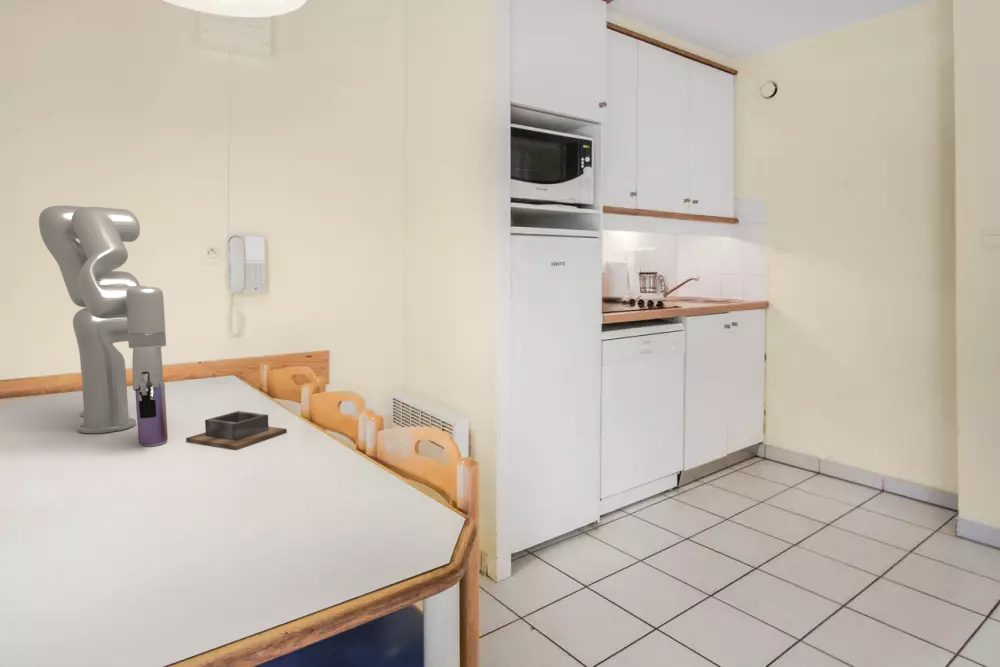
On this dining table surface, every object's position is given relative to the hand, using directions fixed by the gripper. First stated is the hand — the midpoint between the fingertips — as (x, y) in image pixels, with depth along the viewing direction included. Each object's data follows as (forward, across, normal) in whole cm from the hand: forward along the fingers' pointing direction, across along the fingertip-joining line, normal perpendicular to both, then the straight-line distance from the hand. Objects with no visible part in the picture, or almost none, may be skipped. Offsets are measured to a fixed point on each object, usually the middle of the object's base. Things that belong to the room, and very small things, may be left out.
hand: (151, 412), depth 139 cm
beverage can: (+8, 0, 0) cm, 8 cm away
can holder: (+8, +1, +18) cm, 20 cm away
